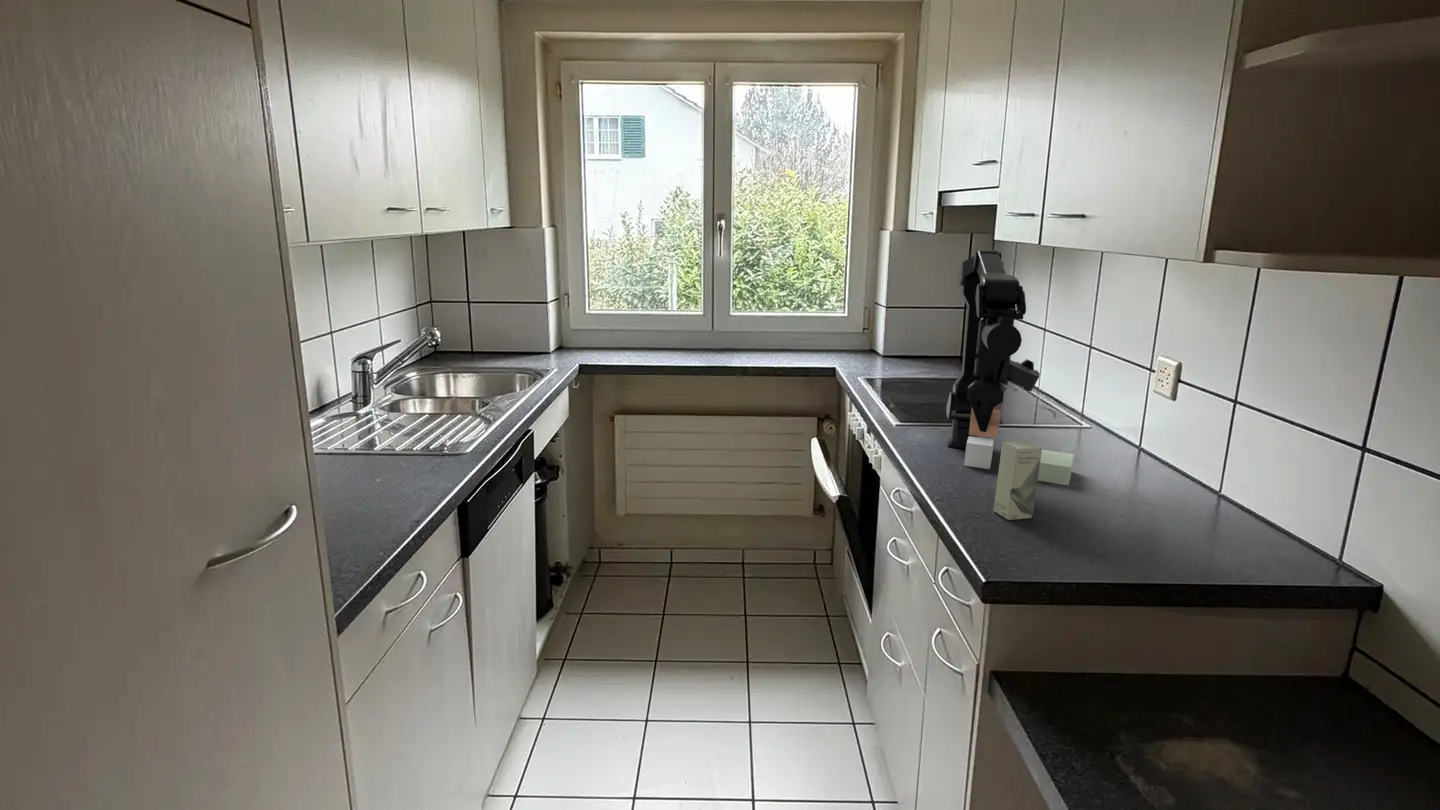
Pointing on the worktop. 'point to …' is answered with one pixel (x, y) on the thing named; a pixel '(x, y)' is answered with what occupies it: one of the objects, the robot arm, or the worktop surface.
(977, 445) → the grey cube
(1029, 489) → the box
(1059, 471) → the sage base block
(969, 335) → the robot arm
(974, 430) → the terracotta cube
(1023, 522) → the worktop surface
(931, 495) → the worktop surface
